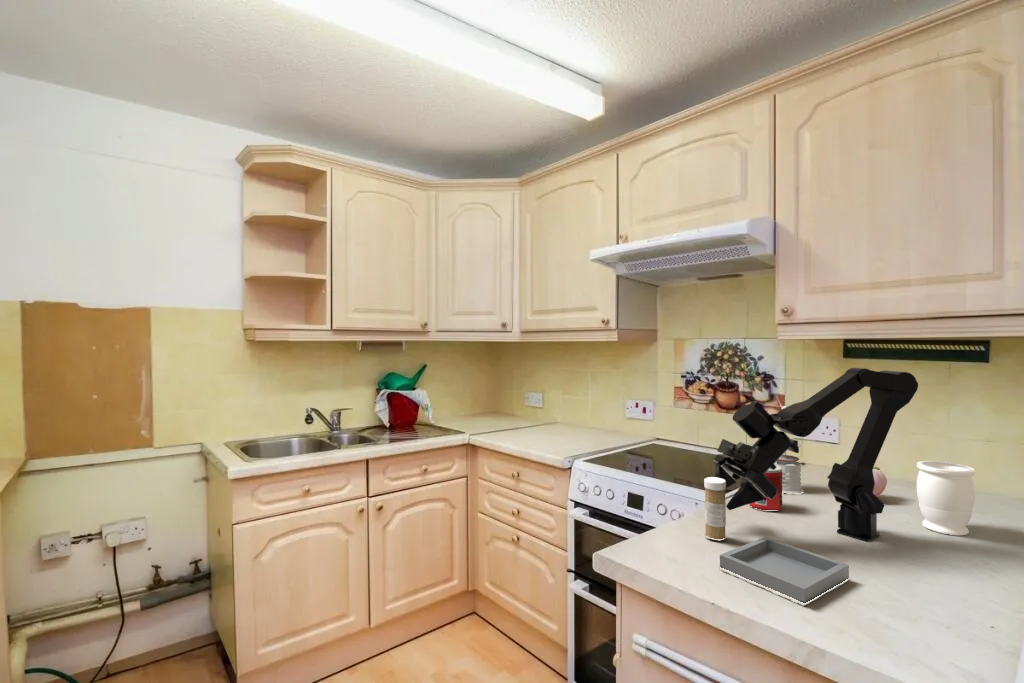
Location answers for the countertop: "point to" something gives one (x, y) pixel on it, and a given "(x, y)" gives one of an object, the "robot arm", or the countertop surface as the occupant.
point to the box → (785, 568)
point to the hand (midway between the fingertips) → (717, 501)
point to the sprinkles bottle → (715, 507)
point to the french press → (790, 472)
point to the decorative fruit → (879, 481)
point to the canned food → (776, 502)
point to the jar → (945, 496)
